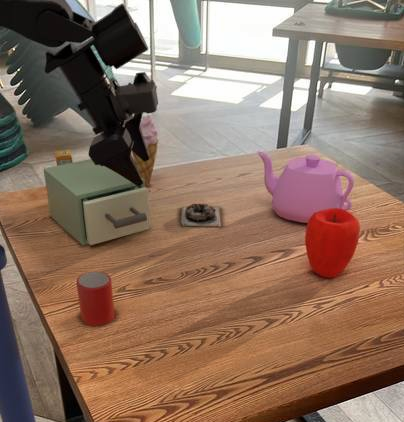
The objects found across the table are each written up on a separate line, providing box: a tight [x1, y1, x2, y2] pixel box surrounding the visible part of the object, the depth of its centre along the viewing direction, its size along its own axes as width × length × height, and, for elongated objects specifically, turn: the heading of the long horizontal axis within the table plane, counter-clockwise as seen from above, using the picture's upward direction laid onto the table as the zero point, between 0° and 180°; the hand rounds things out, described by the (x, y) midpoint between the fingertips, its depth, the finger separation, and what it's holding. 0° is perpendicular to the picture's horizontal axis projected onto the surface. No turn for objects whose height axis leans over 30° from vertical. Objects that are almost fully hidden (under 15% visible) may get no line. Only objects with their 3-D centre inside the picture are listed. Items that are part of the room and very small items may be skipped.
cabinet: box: [42, 158, 145, 247], centre depth 109 cm, size 15×14×10 cm
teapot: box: [256, 150, 355, 224], centre depth 113 cm, size 20×13×12 cm, turn 72°
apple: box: [304, 208, 361, 279], centre depth 96 cm, size 9×9×11 cm
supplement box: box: [54, 149, 74, 166], centre depth 116 cm, size 3×3×10 cm
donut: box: [180, 202, 222, 227], centre depth 114 cm, size 8×8×2 cm
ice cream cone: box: [131, 114, 159, 189], centre depth 121 cm, size 7×6×15 cm
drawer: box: [81, 186, 151, 246], centre depth 106 cm, size 18×12×8 cm
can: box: [75, 271, 115, 327], centre depth 85 cm, size 5×5×6 cm
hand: (144, 172), depth 97 cm, fingers open, 9 cm apart
